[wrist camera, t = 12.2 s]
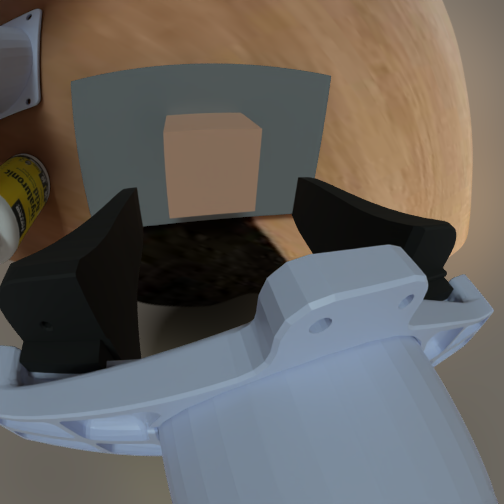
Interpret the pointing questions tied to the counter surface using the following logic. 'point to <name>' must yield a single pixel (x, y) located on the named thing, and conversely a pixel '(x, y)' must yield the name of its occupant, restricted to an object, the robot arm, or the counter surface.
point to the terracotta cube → (211, 163)
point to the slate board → (193, 102)
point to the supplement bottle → (20, 199)
